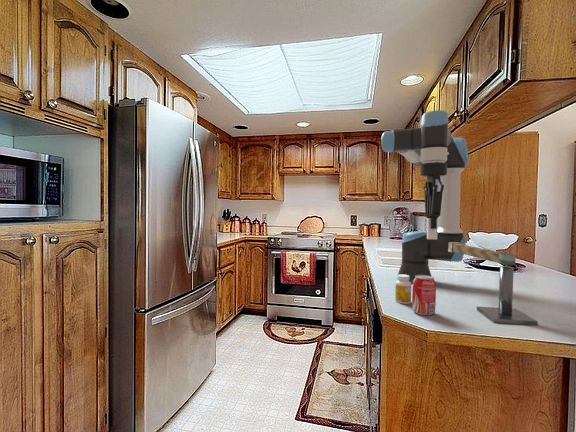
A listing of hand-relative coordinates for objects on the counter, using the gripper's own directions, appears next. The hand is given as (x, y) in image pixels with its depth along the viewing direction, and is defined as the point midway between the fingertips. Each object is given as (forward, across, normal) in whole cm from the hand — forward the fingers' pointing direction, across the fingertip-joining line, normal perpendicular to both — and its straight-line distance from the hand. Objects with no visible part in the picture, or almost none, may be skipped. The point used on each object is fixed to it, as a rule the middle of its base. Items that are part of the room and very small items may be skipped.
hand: (431, 238), depth 100 cm
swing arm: (+9, +18, -21) cm, 29 cm away
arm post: (+25, +4, -24) cm, 35 cm away
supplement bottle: (+25, +15, +5) cm, 30 cm away
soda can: (+25, +4, +1) cm, 25 cm away
